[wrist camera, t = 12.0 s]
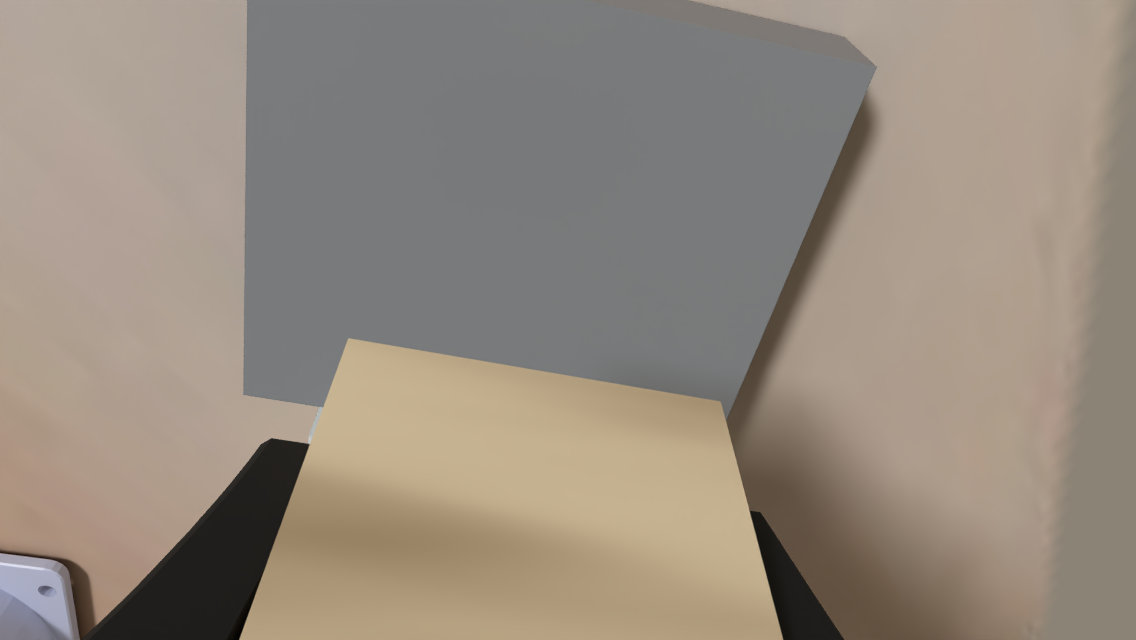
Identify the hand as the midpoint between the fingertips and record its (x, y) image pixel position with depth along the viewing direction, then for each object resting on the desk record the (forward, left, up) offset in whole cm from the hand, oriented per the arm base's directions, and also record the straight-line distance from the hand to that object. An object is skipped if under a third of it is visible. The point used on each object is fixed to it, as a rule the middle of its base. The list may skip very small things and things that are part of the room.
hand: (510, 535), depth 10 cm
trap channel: (-7, 0, -10) cm, 12 cm away
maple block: (0, 0, -1) cm, 1 cm away
